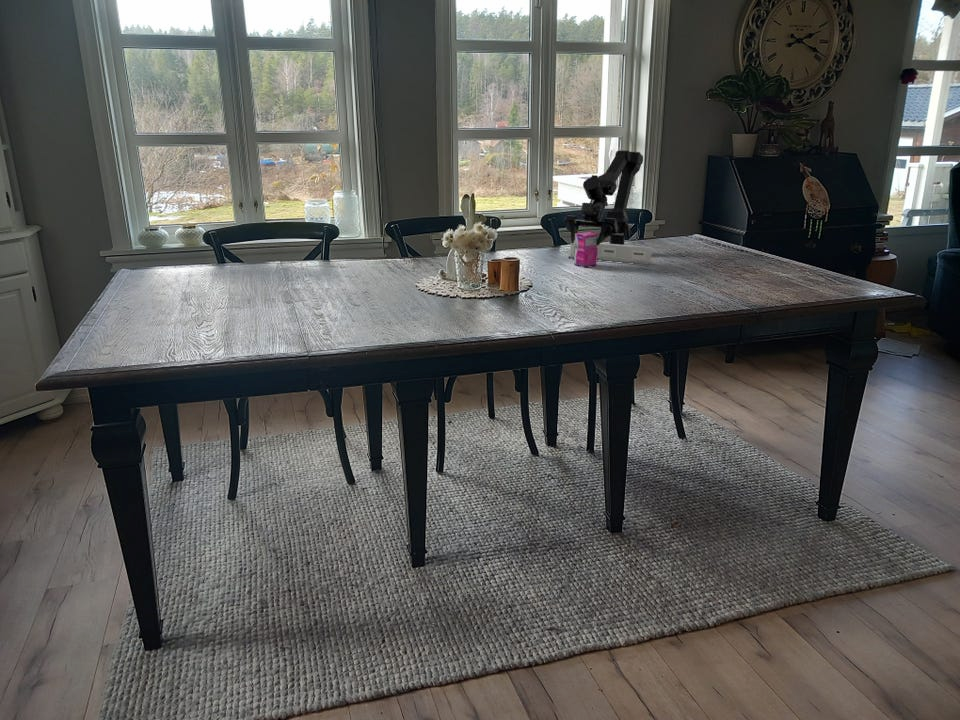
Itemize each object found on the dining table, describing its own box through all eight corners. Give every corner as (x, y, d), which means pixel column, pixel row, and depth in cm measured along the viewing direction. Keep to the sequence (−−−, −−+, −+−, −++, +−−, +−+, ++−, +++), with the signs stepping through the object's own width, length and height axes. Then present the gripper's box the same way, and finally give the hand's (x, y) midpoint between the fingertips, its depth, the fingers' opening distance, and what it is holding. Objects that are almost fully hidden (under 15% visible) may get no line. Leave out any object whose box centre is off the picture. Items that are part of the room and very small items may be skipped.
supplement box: (573, 265, 258) (574, 233, 254) (586, 263, 261) (588, 231, 257) (583, 268, 253) (585, 235, 249) (596, 266, 256) (598, 233, 252)
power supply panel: (574, 255, 274) (574, 240, 272) (652, 262, 261) (653, 246, 259) (568, 258, 269) (569, 242, 267) (647, 265, 256) (648, 249, 254)
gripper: (566, 192, 256) (554, 227, 250) (617, 195, 248) (605, 231, 242) (573, 212, 265) (561, 246, 259) (623, 215, 257) (611, 251, 251)
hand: (584, 243), depth 253 cm, fingers open, 9 cm apart
